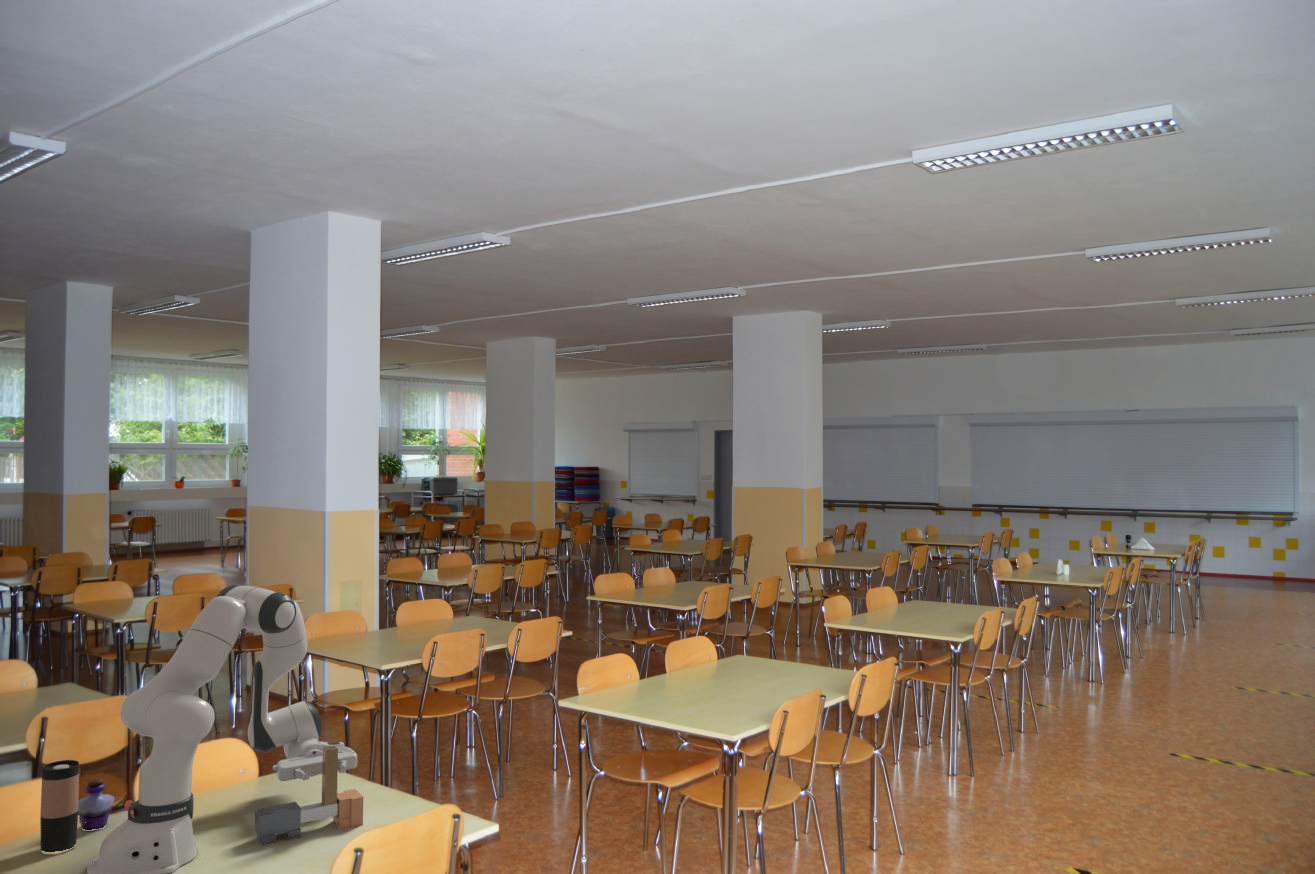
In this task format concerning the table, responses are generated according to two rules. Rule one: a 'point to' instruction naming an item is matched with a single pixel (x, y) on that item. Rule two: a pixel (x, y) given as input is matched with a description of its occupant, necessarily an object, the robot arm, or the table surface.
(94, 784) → the potion bottle
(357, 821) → the socket block
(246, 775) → the table surface
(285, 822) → the sleeve
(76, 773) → the travel mug
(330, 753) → the upright mallet
